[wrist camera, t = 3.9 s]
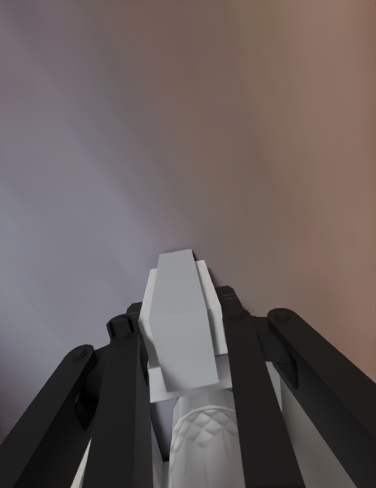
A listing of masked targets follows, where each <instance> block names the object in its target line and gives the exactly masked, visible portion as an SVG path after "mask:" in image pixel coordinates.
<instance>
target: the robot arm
mask: <svg viewBox="0 0 376 488" xmlns="http://www.w3.org/2000/svg"><path fill="white" fill-rule="evenodd" d="M195 265H196V269H197V273H198V277H199V281H200V285H201V289H202V293H203V297H204V301H205V305H206V309H207V315H208V321H209V327H210V333H211V339H212V345H213V351H214V356H215V355H220V354H226V353H228V359H229V366H230V374H231V382H232V389H233V397H234V405H235V412H236V420H237V428H238V435H239V443H240V451H241V458H242V466H243V474H244V481H245V488H306V486H305V483H304V480H303V477H302V474H301V471H300V468H299V465H298V462H297V458H296V455H295V452H294V449H293V446H292V443H291V440H290V437H289V434H288V430H287V427H286V424H285V421H284V418H283V415H282V412H281V409H280V406H279V402H278V399H277V396H276V393H275V390H274V387H273V384H272V381H271V378H270V374H269V371H268V368H267V365H266V362H272V365H273V366H274V368H275V369H276V371H277V372H278V374H279V375H280V377H281V378H282V380H283V381H284V382H285V384H286V385H287V387H288V388H289V390H290V391H291V393H292V394H293V396H294V397H295V398H296V400H297V401H298V403H299V404H300V406H301V407H302V409H303V410H304V412H305V413H306V414H307V416H308V417H309V419H310V420H311V422H312V423H313V425H314V426H315V428H316V429H317V430H318V432H319V433H320V435H321V436H322V438H323V439H324V441H325V442H326V443H327V445H328V446H329V448H330V449H331V451H332V452H333V454H334V455H335V457H336V458H337V459H338V461H339V462H340V464H341V465H342V467H343V468H344V470H345V471H346V473H347V474H348V475H349V477H350V478H351V480H352V481H353V483H354V484H355V486H356V487H357V488H376V383H375V382H373V381H372V380H371V379H370V378H369V377H368V376H367V375H365V374H364V373H363V372H362V371H361V370H360V369H359V368H357V367H356V366H355V365H354V364H353V363H352V362H351V361H350V360H348V359H347V358H346V357H345V356H344V355H343V354H342V353H340V352H339V351H338V350H337V349H336V348H335V347H334V346H333V345H331V344H330V343H329V342H328V341H327V340H326V339H325V338H323V337H322V336H321V335H320V334H319V333H318V332H317V331H316V330H314V329H313V328H312V327H311V326H310V325H309V324H308V323H306V322H305V321H304V320H303V319H302V318H301V317H300V316H298V315H297V314H296V313H295V312H293V311H292V310H289V309H286V308H276V309H273V310H270V311H269V312H268V315H267V317H255V316H252V315H250V313H249V312H248V311H247V310H245V309H244V308H243V307H242V305H241V303H240V301H239V299H238V297H237V295H236V294H235V292H234V290H233V288H231V287H229V286H222V287H217V288H214V286H213V283H212V281H211V278H210V275H209V273H208V270H207V267H206V264H205V262H204V260H200V261H195ZM156 273H157V268H156V269H151V270H150V274H149V278H148V283H147V287H146V291H145V295H144V299H143V302H138V303H133V304H132V305H131V306H130V307H129V308H128V309H127V312H126V314H121V315H119V316H116V317H114V318H112V319H111V320H110V321H109V322H108V323H107V325H106V326H107V330H108V333H109V336H110V339H111V341H110V344H109V345H107V346H104V347H102V348H100V349H97V350H94V347H93V346H92V345H88V344H85V345H81V346H78V347H76V348H74V349H73V350H71V351H70V352H69V353H68V354H67V355H66V356H65V358H64V359H63V360H62V362H61V363H60V364H59V366H58V367H57V369H56V370H55V371H54V373H53V374H52V375H51V377H50V378H49V379H48V381H47V382H46V384H45V385H44V386H43V388H42V389H41V390H40V392H39V393H38V395H37V396H36V397H35V399H34V400H33V401H32V403H31V404H30V406H29V407H28V408H27V410H26V411H25V412H24V414H23V415H22V416H21V418H20V419H19V421H18V422H17V423H16V425H15V426H14V427H13V429H12V430H11V432H10V433H9V434H8V436H7V437H6V438H5V440H4V441H3V443H2V444H1V445H0V488H71V486H72V483H73V481H74V478H75V476H76V474H77V471H78V469H79V466H80V464H81V461H82V459H83V456H84V454H85V452H86V449H87V447H88V444H89V442H90V439H91V442H90V447H89V452H88V457H87V462H86V467H85V472H84V477H83V482H82V487H81V488H153V463H152V436H151V410H150V383H149V372H148V368H147V364H148V361H149V365H150V367H156V366H160V364H159V360H158V356H157V352H156V348H155V345H154V341H153V337H152V333H151V329H150V325H149V321H148V319H149V314H150V308H151V302H152V296H153V290H154V285H155V279H156Z"/></svg>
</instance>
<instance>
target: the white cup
mask: <svg viewBox="0 0 376 488" xmlns="http://www.w3.org/2000/svg"><path fill="white" fill-rule="evenodd" d="M168 488H245V481H244V474H243V466H242V458H241V451H240V443H239V435H238V428H237V420H236V412H235V405H234V397H233V392H231V391H229V390H227V389H221V390H216V391H210V392H205V393H200V394H195V395H189V396H184V397H180V398H179V400H178V401H177V403H176V405H175V407H174V409H173V428H172V441H171V446H170V459H169V471H168Z"/></svg>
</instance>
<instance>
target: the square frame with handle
mask: <svg viewBox="0 0 376 488" xmlns="http://www.w3.org/2000/svg"><path fill="white" fill-rule="evenodd" d="M148 321H149V325H150V329H151V333H152V337H153V341H154V345H155V348H156V352H157V356H158V360H159V364H160V367H158V368H153V369H148V372H149V383H150V403H152V402H157V401H163V400H168V399H173V398H179V397H184V396H189V395H195V394H200V393H205V392H210V391H216V390H221V389H226V388H232V382H231V374H230V366H229V359H228V354H227V355H222V356H217V357H214V351H213V345H212V339H211V333H210V327H209V321H208V315H207V309H206V305H205V301H204V297H203V293H202V289H201V285H200V281H199V277H198V273H197V269H196V265H195V262H194V258H193V254H192V250H191V249H187V250H182V251H176V252H171V253H165V254H160V255H159V261H158V267H157V273H156V279H155V285H154V290H153V296H152V302H151V308H150V314H149V319H148ZM266 365H267V368H268V371H269V374H270V378H271V381H272V384H273V387H274V390H275V393H276V396H277V399H278V402H279V406H280V409H281V412H282V400H281V387H280V375H279V374H278V372H277V371H276V369H275V368H274V366H273V365H272V362H266ZM282 415H283V414H282ZM151 436H152V463H153V488H168V471H169V461H167V462H163V460H162V457H161V453H160V450H159V446H158V443H157V439H156V436H155V432H154V429H153V426H152V422H151Z"/></svg>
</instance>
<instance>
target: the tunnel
mask: <svg viewBox="0 0 376 488" xmlns="http://www.w3.org/2000/svg"><path fill="white" fill-rule="evenodd" d="M280 387H281V400H282V414H283V418H284V421H285V424H286V427H287V430H288V434H289V437H290V440H291V443H292V446H293V449H294V452H295V455H296V458H297V462H298V465H299V468H300V471H301V474H302V477H303V480H304V483H305V486H306V488H357V487H356V486H355V484H354V483H353V481H352V480H351V478H350V477H349V475H348V474H347V473H346V471H345V470H344V468H343V467H342V465H341V464H340V462H339V461H338V459H337V458H336V457H335V455H334V454H333V452H332V451H331V449H330V448H329V446H328V445H327V443H326V442H325V441H324V439H323V438H322V436H321V435H320V433H319V432H318V430H317V429H316V428H315V426H314V425H313V423H312V422H311V420H310V419H309V417H308V416H307V414H306V413H305V412H304V410H303V409H302V407H301V406H300V404H299V403H298V401H297V400H296V398H295V397H294V396H293V394H292V393H291V391H290V390H289V388H288V387H287V385H286V384H285V382H284V381H283V380H282V378H281V377H280ZM90 442H91V439H90ZM90 442H89V444H88V447H87V449H86V452H85V454H84V456H83V459H82V461H81V464H80V466H79V469H78V471H77V474H76V476H75V478H74V481H73V483H72V486H71V488H81V487H82V482H83V477H84V472H85V467H86V462H87V457H88V452H89V447H90Z"/></svg>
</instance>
